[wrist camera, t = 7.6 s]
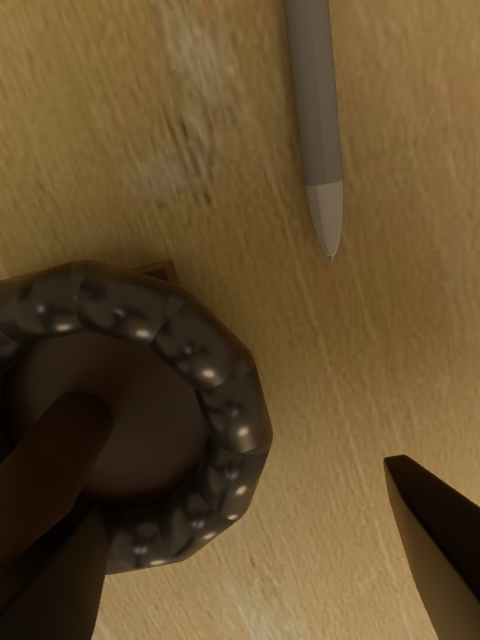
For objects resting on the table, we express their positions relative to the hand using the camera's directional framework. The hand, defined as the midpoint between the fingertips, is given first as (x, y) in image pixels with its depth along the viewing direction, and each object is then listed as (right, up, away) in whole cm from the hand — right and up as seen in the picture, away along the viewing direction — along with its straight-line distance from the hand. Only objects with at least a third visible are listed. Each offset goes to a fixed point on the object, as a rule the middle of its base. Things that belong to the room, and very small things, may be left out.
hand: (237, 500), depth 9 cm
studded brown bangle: (-4, 0, +4) cm, 6 cm away
